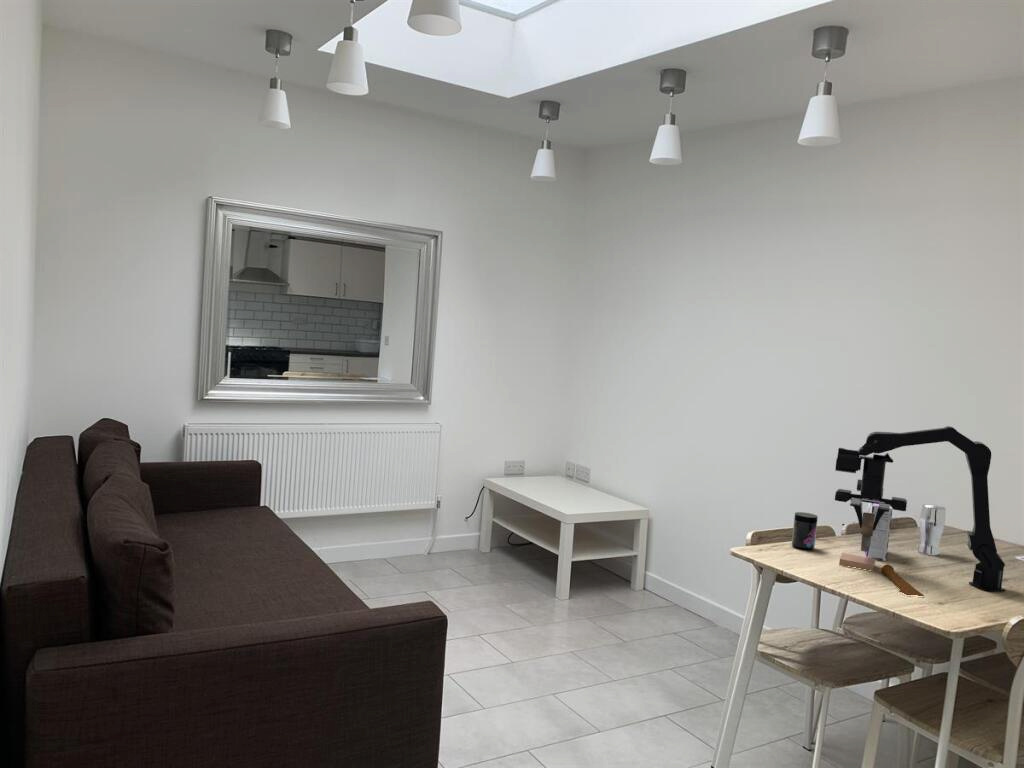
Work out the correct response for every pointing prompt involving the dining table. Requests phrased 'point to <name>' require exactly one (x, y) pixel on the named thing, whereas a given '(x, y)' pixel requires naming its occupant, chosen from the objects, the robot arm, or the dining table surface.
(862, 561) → the tan block
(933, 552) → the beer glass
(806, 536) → the supplement container
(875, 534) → the candy box
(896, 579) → the primitive tool
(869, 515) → the two-tone stacked blocks
